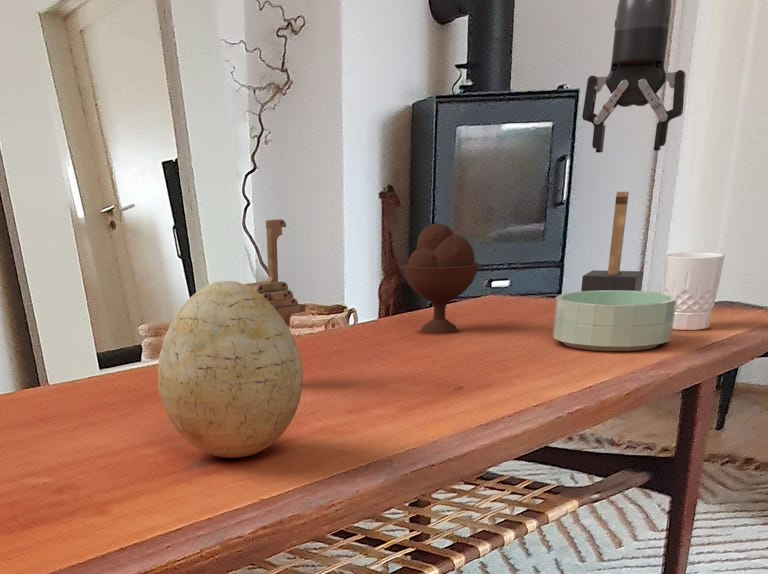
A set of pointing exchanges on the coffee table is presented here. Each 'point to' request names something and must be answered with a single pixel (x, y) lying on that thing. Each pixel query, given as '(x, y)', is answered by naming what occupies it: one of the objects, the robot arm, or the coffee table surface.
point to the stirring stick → (618, 232)
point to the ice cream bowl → (440, 271)
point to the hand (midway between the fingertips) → (627, 151)
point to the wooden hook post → (276, 277)
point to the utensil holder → (612, 281)
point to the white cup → (693, 287)
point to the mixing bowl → (614, 319)
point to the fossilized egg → (229, 371)
